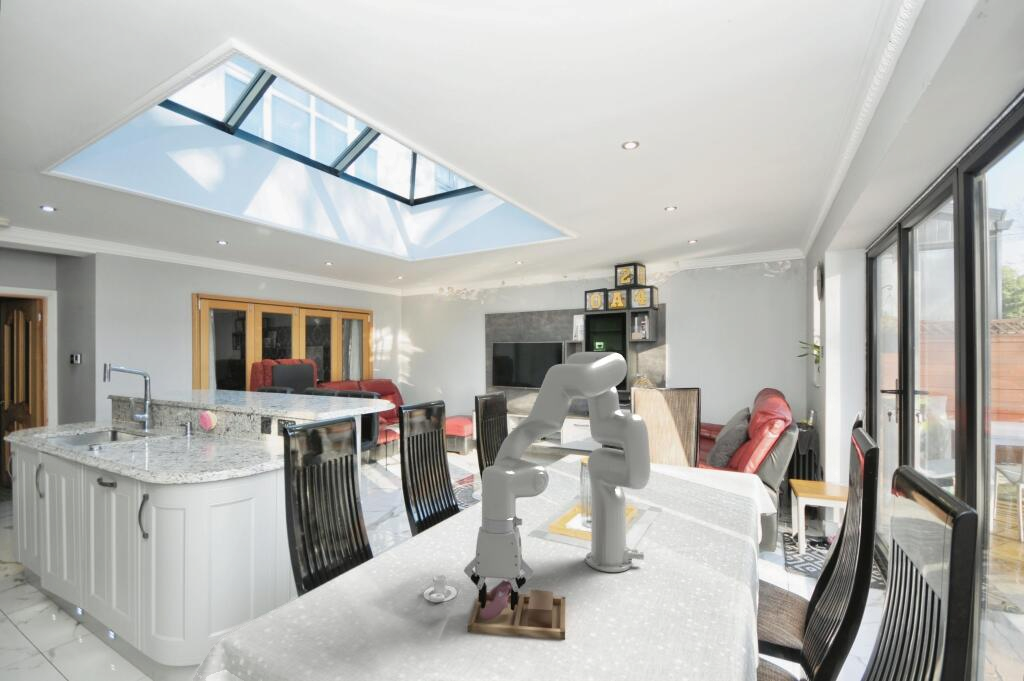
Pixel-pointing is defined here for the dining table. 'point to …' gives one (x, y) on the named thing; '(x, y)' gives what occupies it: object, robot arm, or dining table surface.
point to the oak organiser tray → (518, 620)
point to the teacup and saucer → (439, 590)
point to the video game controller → (497, 600)
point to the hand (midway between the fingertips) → (498, 605)
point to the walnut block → (540, 609)
